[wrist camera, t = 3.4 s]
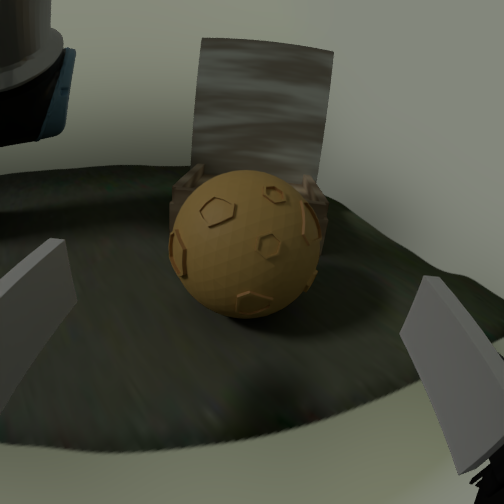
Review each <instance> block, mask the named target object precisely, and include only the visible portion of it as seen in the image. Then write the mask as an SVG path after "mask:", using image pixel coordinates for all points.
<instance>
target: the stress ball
mask: <svg viewBox="0 0 504 504" xmlns="http://www.w3.org/2000/svg"><path fill="white" fill-rule="evenodd" d="M321 240H322V235H321V228H320V224H319V221H318V218H317V216H316V214H315V212H314V210H313V209H312V207H311V206H310V205H309V203H308V202H307V201H306V200H305V199H304V198H303V197H302V195H301V194H300V193H299V192H298V191H297V190H296V189H295V188H294V187H292V186H291V185H290V184H288V183H287V182H285V181H284V180H282V179H280V178H278V177H276V176H274V175H271V174H268V173H265V172H260V171H254V170H238V171H231V172H227V173H223V174H221V175H218V176H215V177H213V178H212V179H210V180H208V181H206V182H205V183H203V184H202V185H201V186H199V187H198V188H197V189H196V190H195V191H194V192H193V193H192V194H191V195H190V196H189V197H188V198H187V200H186V201H185V202H184V204H183V205H182V207H181V209H180V211H179V213H178V215H177V217H176V220H175V223H174V227H173V231H172V232H171V233H170V239H169V258H170V261H171V264H172V266H173V269H174V270H175V272H176V274H177V275H178V277H179V278H180V280H181V282H182V283H183V285H184V286H185V288H186V289H187V290H188V292H189V293H190V294H191V295H192V296H193V297H194V298H195V299H196V300H197V301H198V302H200V303H201V304H202V305H204V306H205V307H206V308H208V309H210V310H212V311H214V312H216V313H219V314H222V315H224V316H228V317H233V318H242V319H249V318H258V317H263V316H267V315H270V314H273V313H275V312H277V311H279V310H281V309H283V308H285V307H286V306H288V305H289V304H291V303H292V302H293V301H294V300H295V299H296V298H297V297H298V296H299V295H300V294H301V293H302V292H303V291H304V292H307V291H308V289H309V288H310V286H311V285H312V283H313V281H314V279H315V277H316V275H317V273H318V271H317V270H316V267H317V263H318V261H319V256H320V241H321Z"/></svg>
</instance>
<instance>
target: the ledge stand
mask: <svg viewBox="0 0 504 504" xmlns="http://www.w3.org/2000/svg"><path fill="white" fill-rule="evenodd" d="M333 55H334V52H333V51H328V50H322V49H317V48H312V47H306V46H300V45H293V44H285V43H278V42H269V41H259V40H247V39H230V38H202V41H201V49H200V58H199V67H198V76H197V86H196V98H195V109H194V122H193V136H192V152H191V170H190V171H189V172H188V173H187V174H185V175H184V176H183V177H182V178H181V179H180V180H179V181H178V182H177V183H176V184H175V185H173V186H172V201H171V202H170V203H169V227H170V233H171V232H172V231H173V227H174V223H175V220H176V217H177V215H178V213H179V211H180V209H181V207H182V205H183V204H184V202H185V201H186V200H187V198H188V197H189V196H190V195H191V194H192V193H193V192H194V191H195V190H196V189H197V188H198V187H199V186H201V185H202V184H203V183H205V182H206V181H208V180H210V179H212V178H213V177H215V176H218V175H221V174H223V173H227V172H231V171H238V170H254V171H260V172H265V173H268V174H271V175H274V176H276V177H278V178H280V179H282V180H284V181H285V182H287V183H288V184H290V185H291V186H292V187H294V188H295V189H296V190H297V191H298V192H299V193H300V194H301V195H302V197H303V198H304V199H305V200H306V201H307V202H308V203H309V205H310V206H311V207H312V209H313V210H314V212H315V214H316V216H317V218H318V221H319V224H320V228H321V235H322V240H321V241H320V255H321V252H322V248H323V243H324V239H325V234H326V229H327V224H328V218H327V217H326V216H327V211H328V206H329V202H328V200H327V199H326V197H325V196H324V194H323V193H322V191H321V190H320V189H319V187H318V186H317V184H316V181H317V175H318V169H319V162H320V156H321V149H322V143H323V136H324V129H325V122H326V114H327V107H328V99H329V91H330V83H331V74H332V65H333Z"/></svg>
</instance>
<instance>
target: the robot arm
mask: <svg viewBox="0 0 504 504" xmlns="http://www.w3.org/2000/svg"><path fill="white" fill-rule="evenodd" d="M50 17H51V0H0V147H4V146H9V145H15V144H20V143H27V142H32V141H35V142H37V141H39V140H40V139H45V138H49V137H54V136H57V135H59V134H60V133H61V132H62V131H63V129H64V127H65V124H66V116H67V109H68V100H69V93H70V87H71V80H72V74H73V68H74V62H75V57H76V51H75V49H70V48H68V47H67V48H64V49H63V37H62V35H61V34H60V33H59V32H58V31H57V30H55V29H53V28H50ZM77 302H78V301H77V296H76V292H75V288H74V284H73V279H72V274H71V270H70V265H69V259H68V254H67V248H66V242H65V240H63V239H54V238H50V239H48V240H47V241H46V242H44V243H43V244H42V245H41V246H39V247H38V248H37V249H36V250H34V251H33V252H32V253H31V254H29V255H28V256H27V257H26V258H25V259H23V260H22V261H21V262H20V263H19V264H17V265H16V266H15V267H14V268H13V269H12V270H10V271H9V272H8V273H7V274H6V275H5V276H4V277H2V278H1V279H0V414H1V412H2V410H3V409H4V407H5V405H6V404H7V402H8V400H9V399H10V397H11V395H12V394H13V392H14V390H15V389H16V387H17V386H18V384H19V383H20V381H21V379H22V378H23V376H24V375H25V373H26V372H27V370H28V369H29V367H30V366H31V364H32V363H33V361H34V360H35V359H36V357H37V356H38V354H39V353H40V351H41V350H42V348H43V347H44V346H45V344H46V343H47V341H48V340H49V339H50V337H51V336H52V335H53V333H54V332H55V330H56V329H57V328H58V326H59V325H60V324H61V322H62V321H63V320H64V318H65V317H66V316H67V315H68V313H69V312H70V311H71V309H72V308H73V307H74V306H75V304H76V303H77ZM400 336H401V338H402V340H403V342H404V344H405V346H406V348H407V350H408V352H409V355H410V357H411V359H412V361H413V363H414V365H415V367H416V369H417V372H418V374H419V376H420V378H421V381H422V383H423V385H424V387H425V390H426V392H427V394H428V396H429V399H430V401H431V404H432V406H433V408H434V411H435V413H436V415H437V418H438V421H439V423H440V425H441V428H442V431H443V433H444V436H445V439H446V441H447V444H448V447H449V449H450V452H451V455H452V458H453V461H454V464H455V466H456V470H457V473H458V475H461V474H464V473H466V472H469V471H471V470H474V469H476V468H477V467H479V466H480V465H481V464H482V463H483V462H485V461H486V460H487V459H488V458H489V460H490V464H489V465H488V466H487V467H486V468H484V469H483V470H482V471H481V472H479V473H478V474H477V475H476V476H474V477H473V478H472V480H471V481H470V483H469V484H473V483H474V482H476V481H477V480H478V479H480V478H481V477H482V480H480V481H479V482H478V483H477V484H476V485H475V486H477V487H479V490H478V493H477V496H476V499H475V502H474V504H504V358H503V356H501V355H500V354H499V353H498V352H497V351H496V349H495V348H494V347H493V345H492V344H491V342H490V341H489V339H488V338H487V337H486V335H485V334H484V332H483V331H482V330H481V328H480V327H479V326H478V324H477V323H476V322H475V320H474V319H473V318H472V316H471V315H470V314H469V313H468V311H467V310H466V309H465V308H464V306H463V305H462V304H461V303H460V301H459V300H458V299H457V298H456V296H455V295H454V294H453V293H452V291H451V290H450V289H449V288H448V287H447V286H446V284H445V283H444V282H443V281H442V280H441V278H440V277H434V276H423V279H422V281H421V284H420V287H419V289H418V292H417V294H416V297H415V299H414V302H413V304H412V306H411V309H410V311H409V314H408V316H407V318H406V320H405V323H404V325H403V327H402V329H401V331H400Z"/></svg>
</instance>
